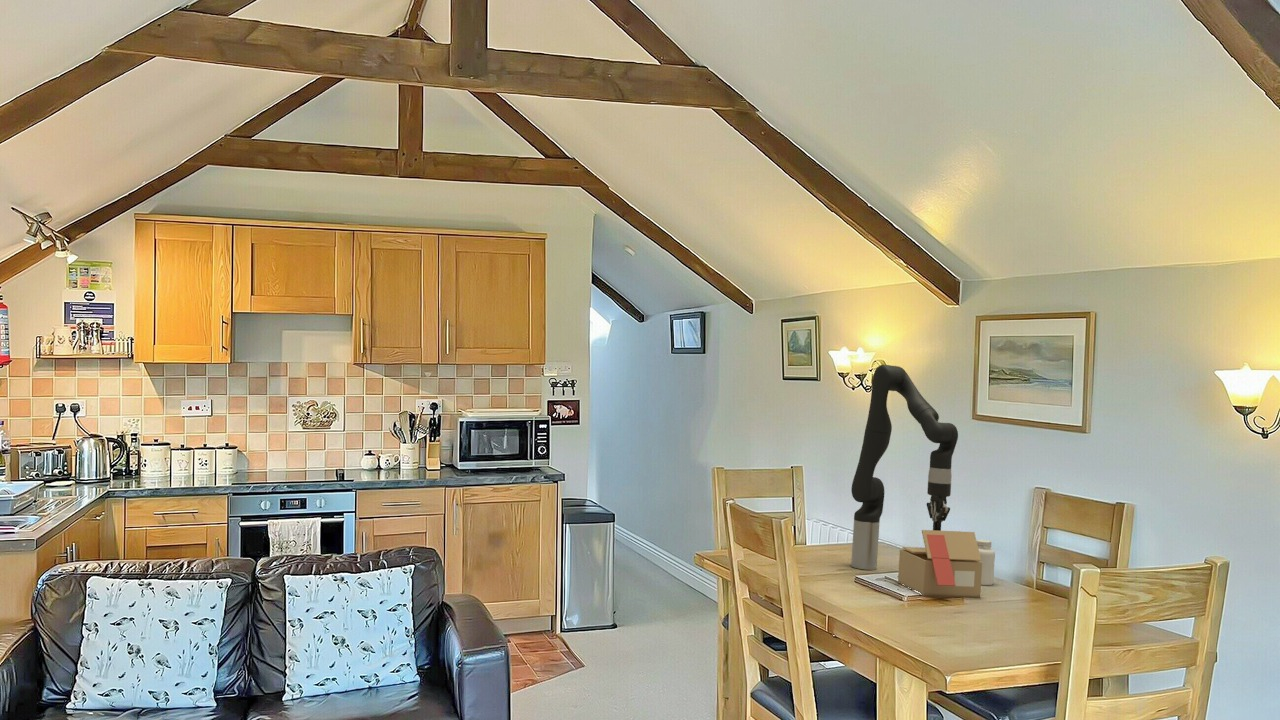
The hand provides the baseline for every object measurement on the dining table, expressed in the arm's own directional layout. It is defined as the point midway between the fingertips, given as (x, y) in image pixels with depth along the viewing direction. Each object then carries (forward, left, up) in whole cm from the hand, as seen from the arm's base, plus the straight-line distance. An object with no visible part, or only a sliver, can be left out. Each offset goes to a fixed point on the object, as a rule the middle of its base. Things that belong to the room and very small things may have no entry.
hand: (936, 532), depth 328 cm
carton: (+4, 0, -19) cm, 19 cm away
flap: (+13, 0, -6) cm, 15 cm away
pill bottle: (-10, +23, -19) cm, 31 cm away
